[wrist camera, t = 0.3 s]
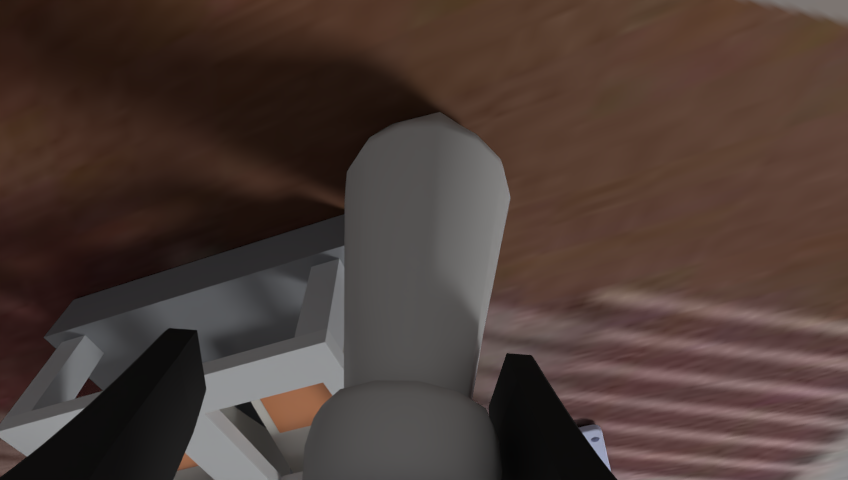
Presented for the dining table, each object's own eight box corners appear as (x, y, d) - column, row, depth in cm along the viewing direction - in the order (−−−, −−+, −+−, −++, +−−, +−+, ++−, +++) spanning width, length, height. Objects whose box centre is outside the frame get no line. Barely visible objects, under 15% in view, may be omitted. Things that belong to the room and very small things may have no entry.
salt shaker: (339, 188, 21) (231, 540, 11) (381, 65, 17) (271, 441, 8) (468, 231, 22) (467, 583, 13) (534, 125, 18) (604, 515, 9)
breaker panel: (454, 417, 29) (466, 540, 24) (242, 467, 32) (208, 590, 26) (351, 211, 21) (332, 327, 16) (73, 299, 23) (-30, 428, 18)
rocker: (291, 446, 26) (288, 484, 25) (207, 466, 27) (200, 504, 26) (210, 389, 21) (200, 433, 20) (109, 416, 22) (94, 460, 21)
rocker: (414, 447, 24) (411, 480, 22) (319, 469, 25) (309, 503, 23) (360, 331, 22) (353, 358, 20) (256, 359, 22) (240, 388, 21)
